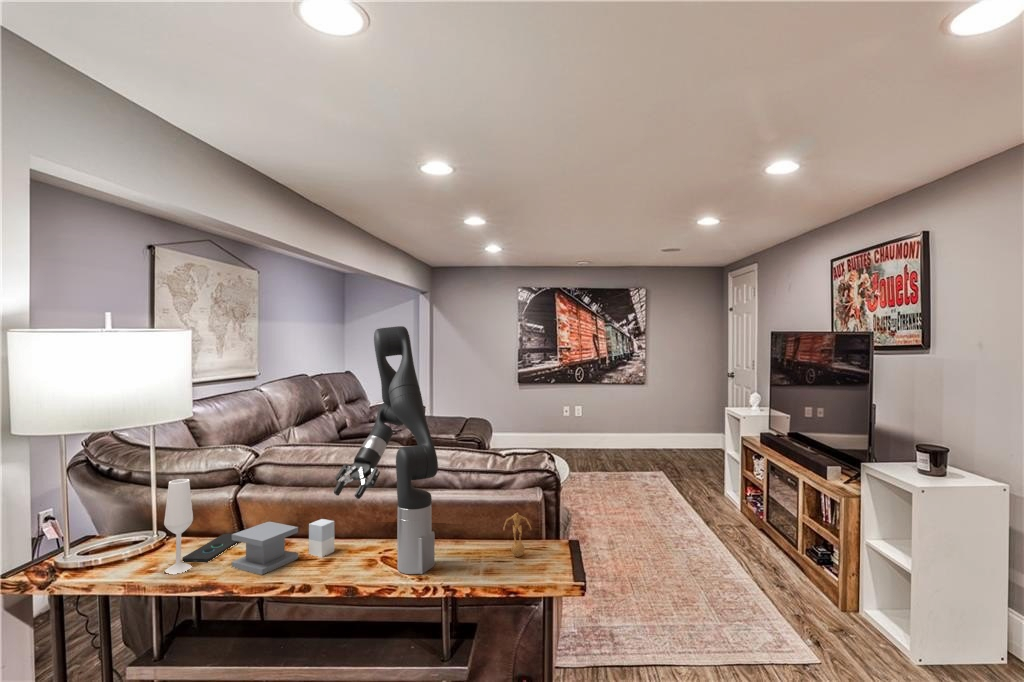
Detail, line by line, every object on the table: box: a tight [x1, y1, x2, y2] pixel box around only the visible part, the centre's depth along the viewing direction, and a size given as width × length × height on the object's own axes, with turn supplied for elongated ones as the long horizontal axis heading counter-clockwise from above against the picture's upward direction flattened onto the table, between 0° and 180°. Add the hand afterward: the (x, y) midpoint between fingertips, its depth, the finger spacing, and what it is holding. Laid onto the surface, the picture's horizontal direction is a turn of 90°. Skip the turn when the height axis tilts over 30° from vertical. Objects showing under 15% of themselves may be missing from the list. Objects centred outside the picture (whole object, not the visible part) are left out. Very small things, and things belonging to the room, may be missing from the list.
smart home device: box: [181, 533, 240, 563], centre depth 156 cm, size 8×2×20 cm
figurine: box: [502, 512, 532, 558], centre depth 151 cm, size 8×6×12 cm
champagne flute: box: [163, 478, 194, 575], centre depth 142 cm, size 7×7×24 cm
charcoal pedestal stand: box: [231, 521, 299, 576], centre depth 146 cm, size 12×12×9 cm
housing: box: [308, 518, 335, 558], centre depth 153 cm, size 5×5×9 cm
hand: (346, 495), depth 162 cm, fingers open, 8 cm apart
